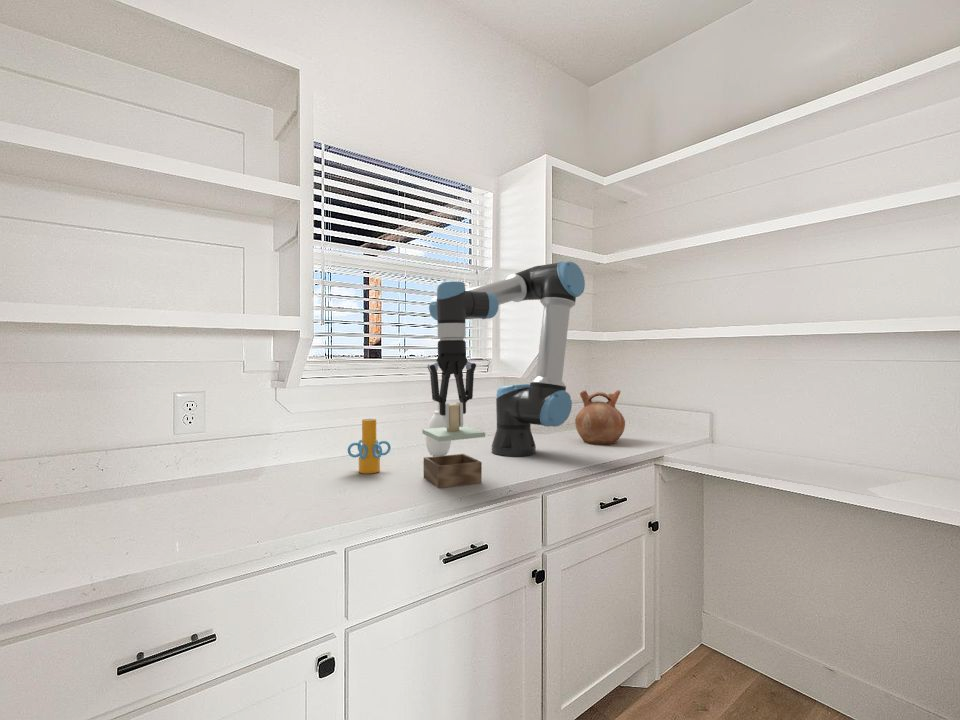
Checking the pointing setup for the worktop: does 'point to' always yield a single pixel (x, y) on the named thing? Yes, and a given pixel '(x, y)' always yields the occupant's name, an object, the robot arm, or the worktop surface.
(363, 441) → the cylinder
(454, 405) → the lid
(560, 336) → the robot arm
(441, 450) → the sauce bottle
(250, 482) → the worktop surface
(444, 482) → the box
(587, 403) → the jug
